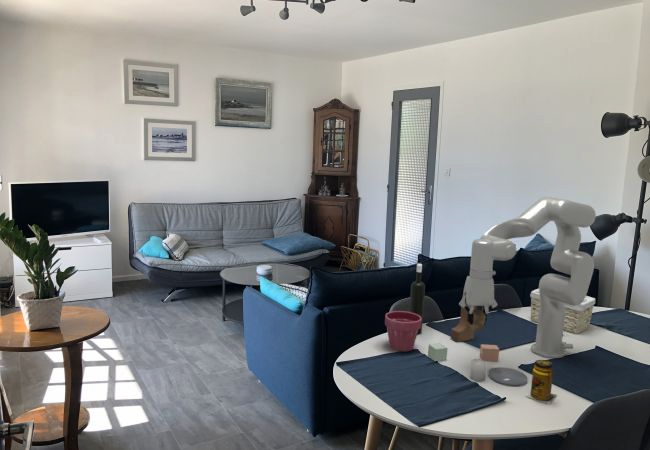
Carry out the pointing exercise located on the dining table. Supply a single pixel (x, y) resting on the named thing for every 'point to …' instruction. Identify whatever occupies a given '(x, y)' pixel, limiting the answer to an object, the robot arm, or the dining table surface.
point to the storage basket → (567, 313)
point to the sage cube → (437, 352)
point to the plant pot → (402, 329)
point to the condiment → (542, 382)
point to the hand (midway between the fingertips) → (476, 322)
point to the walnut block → (478, 320)
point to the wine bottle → (417, 296)
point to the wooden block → (462, 328)
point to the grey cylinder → (478, 370)
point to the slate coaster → (507, 376)
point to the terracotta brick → (489, 352)
